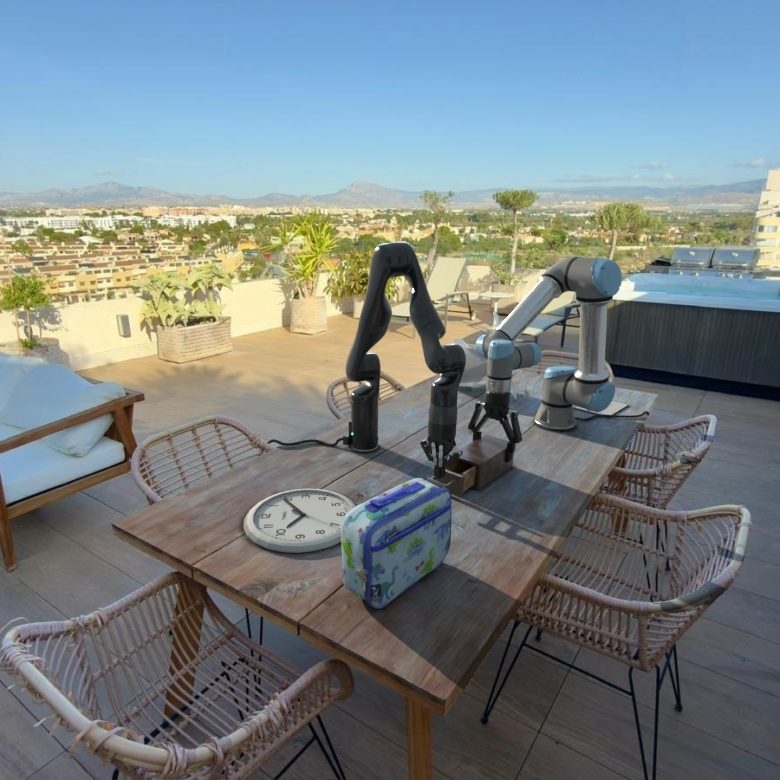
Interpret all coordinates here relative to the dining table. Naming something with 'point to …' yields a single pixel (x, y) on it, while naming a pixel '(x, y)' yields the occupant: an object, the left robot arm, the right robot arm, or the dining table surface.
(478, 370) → the white plastic object
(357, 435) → the left robot arm
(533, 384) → the dining table surface
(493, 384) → the right robot arm
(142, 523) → the dining table surface
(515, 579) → the dining table surface
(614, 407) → the invitation card
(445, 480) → the drawer
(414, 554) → the lunch box
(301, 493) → the wall clock
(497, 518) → the dining table surface
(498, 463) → the cabinet
